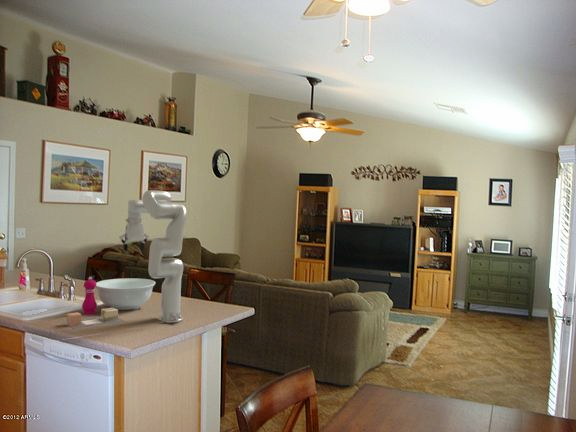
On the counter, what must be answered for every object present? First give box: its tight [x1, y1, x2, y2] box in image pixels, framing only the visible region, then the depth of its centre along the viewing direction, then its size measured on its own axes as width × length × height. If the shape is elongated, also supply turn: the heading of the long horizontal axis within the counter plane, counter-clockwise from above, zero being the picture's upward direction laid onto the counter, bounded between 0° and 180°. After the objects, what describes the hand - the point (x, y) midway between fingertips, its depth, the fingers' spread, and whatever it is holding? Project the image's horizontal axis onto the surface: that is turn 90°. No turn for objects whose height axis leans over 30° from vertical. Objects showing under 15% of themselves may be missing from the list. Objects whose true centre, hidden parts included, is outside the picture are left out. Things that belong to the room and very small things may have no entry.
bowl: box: [95, 277, 156, 311], centre depth 269 cm, size 32×32×15 cm
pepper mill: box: [81, 276, 98, 315], centre depth 252 cm, size 7×7×20 cm
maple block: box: [100, 307, 119, 322], centre depth 240 cm, size 6×6×5 cm
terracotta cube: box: [66, 312, 83, 327], centre depth 229 cm, size 5×5×5 cm
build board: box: [62, 316, 125, 330], centre depth 235 cm, size 14×25×1 cm, turn 132°
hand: (133, 250), depth 280 cm, fingers open, 9 cm apart
